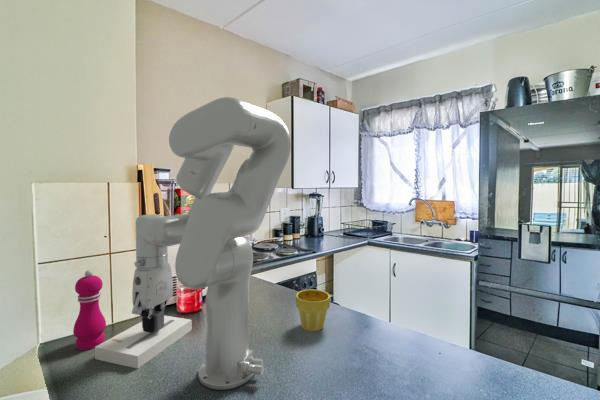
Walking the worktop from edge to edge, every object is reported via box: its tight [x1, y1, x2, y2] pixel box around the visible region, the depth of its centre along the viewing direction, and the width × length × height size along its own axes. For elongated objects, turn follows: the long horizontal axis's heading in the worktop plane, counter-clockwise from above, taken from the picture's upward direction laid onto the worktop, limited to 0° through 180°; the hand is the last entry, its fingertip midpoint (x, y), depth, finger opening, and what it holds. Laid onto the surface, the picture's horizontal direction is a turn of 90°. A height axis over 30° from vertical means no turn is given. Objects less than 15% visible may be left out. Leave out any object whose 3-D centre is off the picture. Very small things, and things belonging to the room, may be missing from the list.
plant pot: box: [295, 289, 331, 332], centre depth 93 cm, size 10×10×10 cm
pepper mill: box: [72, 269, 107, 351], centre depth 81 cm, size 7×7×20 cm
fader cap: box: [141, 309, 165, 331], centre depth 82 cm, size 5×2×5 cm, turn 73°
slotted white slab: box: [94, 314, 193, 369], centre depth 82 cm, size 13×20×3 cm, turn 163°
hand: (153, 328), depth 82 cm, fingers closed on fader cap, 2 cm apart
